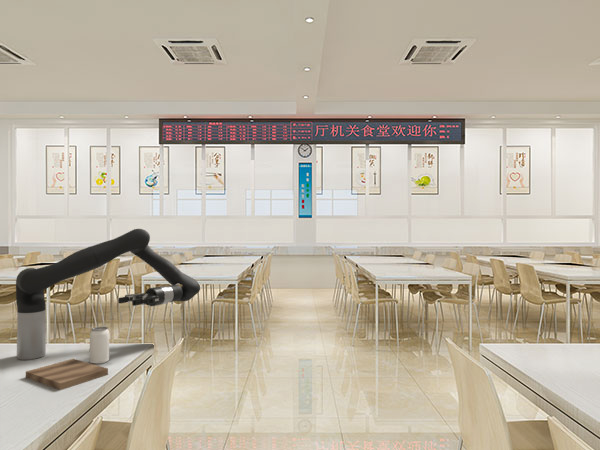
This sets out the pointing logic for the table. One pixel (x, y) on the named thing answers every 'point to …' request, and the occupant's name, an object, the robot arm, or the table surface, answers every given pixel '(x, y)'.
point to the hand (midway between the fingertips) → (125, 301)
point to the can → (99, 345)
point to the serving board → (66, 373)
